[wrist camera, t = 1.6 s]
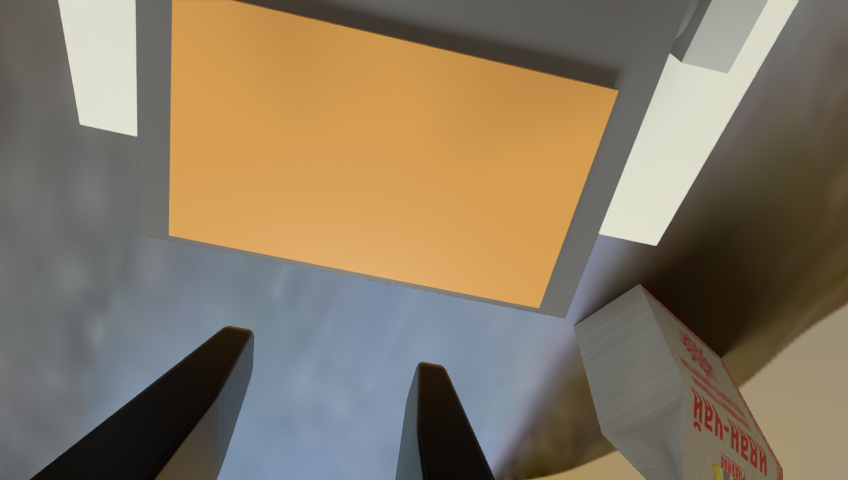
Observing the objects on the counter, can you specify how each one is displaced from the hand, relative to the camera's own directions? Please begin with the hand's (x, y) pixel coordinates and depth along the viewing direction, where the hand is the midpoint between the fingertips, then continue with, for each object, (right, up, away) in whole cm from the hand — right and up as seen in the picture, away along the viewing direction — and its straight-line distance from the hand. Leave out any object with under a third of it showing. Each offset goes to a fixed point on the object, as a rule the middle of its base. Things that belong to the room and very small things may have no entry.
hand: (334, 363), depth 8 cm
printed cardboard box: (+12, -3, +17) cm, 22 cm away
